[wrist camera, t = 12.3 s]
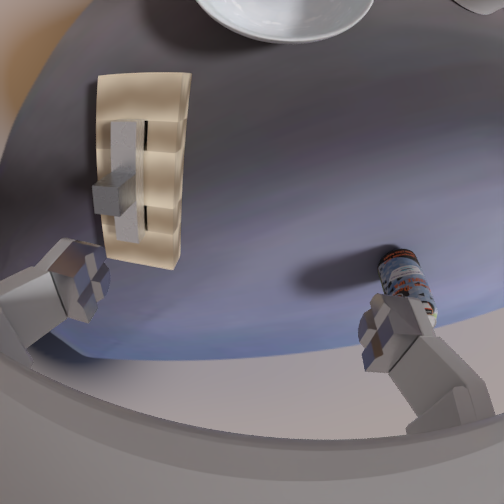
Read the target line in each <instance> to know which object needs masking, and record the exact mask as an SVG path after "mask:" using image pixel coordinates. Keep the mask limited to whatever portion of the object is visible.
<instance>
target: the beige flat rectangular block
mask: <svg viewBox="0 0 504 504" xmlns="http://www.w3.org/2000/svg"><path fill="white" fill-rule="evenodd" d="M191 77H192V74H191V73H176V72H152V73H126V74H112V75H101V76H98V86H97V107H96V153H97V175H98V181H99V180H100V179H102V178H103V177H105V176H106V175H108V174H109V173H110V172H111V121H114V120H117V119H145V121H148V134H147V143H144V155H143V193H144V205H145V206H147V221H146V222H145V223H144V224H145V236H144V237H143V239H142V240H141V241H140V243H139V244H138V243H132V242H126V241H120V240H117V238H116V229H115V219H114V216H110V215H102V214H101V220H102V228H103V236H104V243H105V250H106V255H107V258H111V259H117V260H122V261H127V262H132V263H137V264H143V265H148V266H153V267H159V268H164V269H170V270H174V268H175V265H176V263H177V261H178V259H179V257H180V243H181V203H182V181H183V163H184V149H185V136H186V124H187V113H188V103H189V94H190V85H191Z"/></svg>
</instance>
